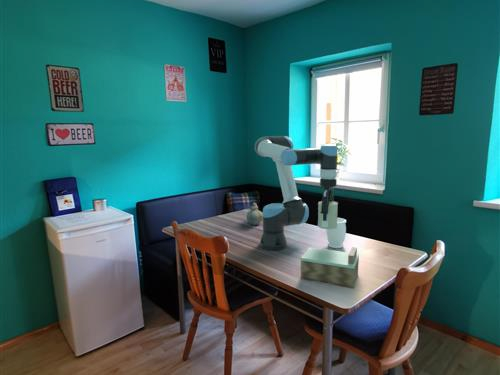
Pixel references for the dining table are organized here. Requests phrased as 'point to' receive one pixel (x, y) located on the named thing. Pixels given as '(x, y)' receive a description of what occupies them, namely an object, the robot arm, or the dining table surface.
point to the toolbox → (329, 274)
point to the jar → (337, 234)
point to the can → (331, 215)
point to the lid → (331, 257)
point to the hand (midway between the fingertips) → (327, 224)
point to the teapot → (254, 215)
